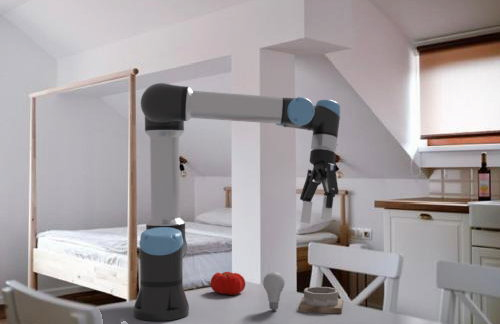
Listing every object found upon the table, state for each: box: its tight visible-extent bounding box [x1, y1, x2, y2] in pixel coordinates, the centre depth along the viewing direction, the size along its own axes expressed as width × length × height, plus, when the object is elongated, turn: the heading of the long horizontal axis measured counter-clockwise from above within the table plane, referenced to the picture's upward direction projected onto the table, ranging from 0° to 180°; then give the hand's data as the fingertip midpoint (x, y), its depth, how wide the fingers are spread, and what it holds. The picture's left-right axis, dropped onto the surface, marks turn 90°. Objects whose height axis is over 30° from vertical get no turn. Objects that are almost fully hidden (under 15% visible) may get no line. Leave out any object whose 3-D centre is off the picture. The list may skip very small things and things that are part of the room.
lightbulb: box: [262, 271, 286, 312], centre depth 173 cm, size 6×6×11 cm
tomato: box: [209, 271, 246, 296], centre depth 196 cm, size 10×11×7 cm
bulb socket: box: [297, 286, 344, 314], centre depth 176 cm, size 12×12×5 cm
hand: (315, 221), depth 177 cm, fingers open, 13 cm apart
